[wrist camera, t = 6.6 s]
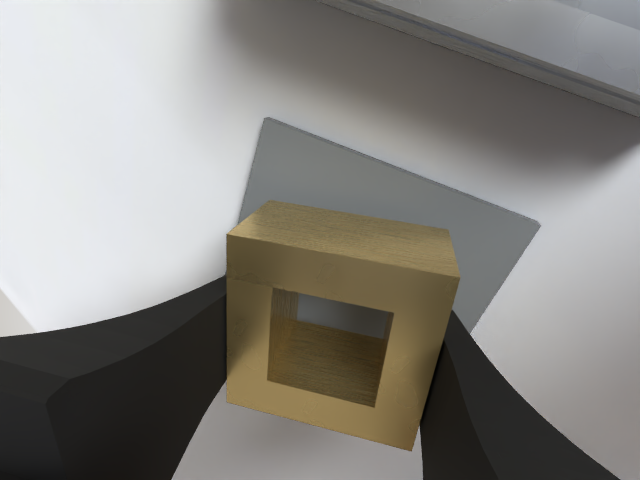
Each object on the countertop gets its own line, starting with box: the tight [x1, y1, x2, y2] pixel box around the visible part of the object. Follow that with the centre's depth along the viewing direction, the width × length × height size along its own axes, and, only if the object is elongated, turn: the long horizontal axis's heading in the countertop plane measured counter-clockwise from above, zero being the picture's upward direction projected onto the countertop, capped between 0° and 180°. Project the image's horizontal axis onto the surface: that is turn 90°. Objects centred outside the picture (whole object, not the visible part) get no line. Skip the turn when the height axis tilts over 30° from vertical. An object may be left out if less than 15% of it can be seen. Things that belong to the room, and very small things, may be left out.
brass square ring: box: [227, 200, 461, 451], centre depth 11 cm, size 5×5×3 cm
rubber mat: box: [225, 117, 541, 339], centre depth 14 cm, size 9×9×1 cm
